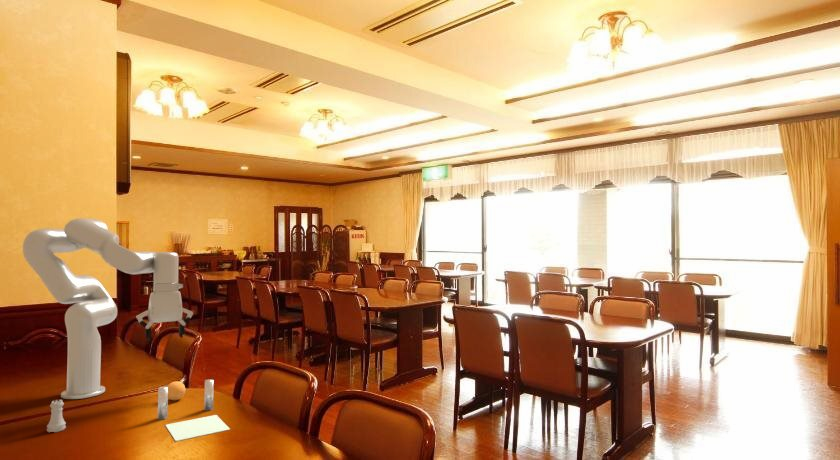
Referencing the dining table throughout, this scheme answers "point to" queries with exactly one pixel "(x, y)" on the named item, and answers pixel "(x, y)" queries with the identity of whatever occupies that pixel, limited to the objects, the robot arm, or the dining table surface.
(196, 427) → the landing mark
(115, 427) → the dining table surface
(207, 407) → the post
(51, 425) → the rook chess piece
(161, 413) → the post
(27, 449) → the dining table surface
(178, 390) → the ball
